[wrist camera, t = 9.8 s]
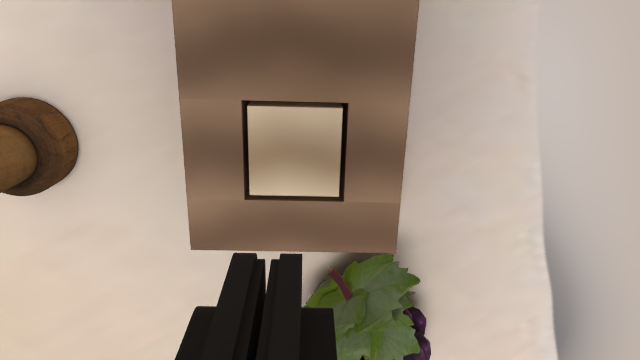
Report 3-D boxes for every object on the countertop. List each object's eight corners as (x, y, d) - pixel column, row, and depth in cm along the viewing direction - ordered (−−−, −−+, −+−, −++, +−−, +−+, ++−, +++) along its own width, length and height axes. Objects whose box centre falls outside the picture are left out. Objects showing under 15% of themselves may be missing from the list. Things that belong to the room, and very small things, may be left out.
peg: (262, 84, 31) (247, 105, 24) (335, 86, 31) (342, 108, 24) (263, 154, 33) (249, 194, 26) (332, 155, 33) (338, 196, 26)
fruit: (350, 348, 43) (265, 249, 35) (459, 316, 40) (393, 200, 32) (356, 469, 35) (246, 375, 27) (494, 441, 32) (415, 326, 24)
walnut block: (197, -192, 26) (150, -277, 18) (406, -183, 26) (443, -263, 19) (217, 198, 34) (190, 249, 27) (377, 201, 34) (395, 253, 27)
